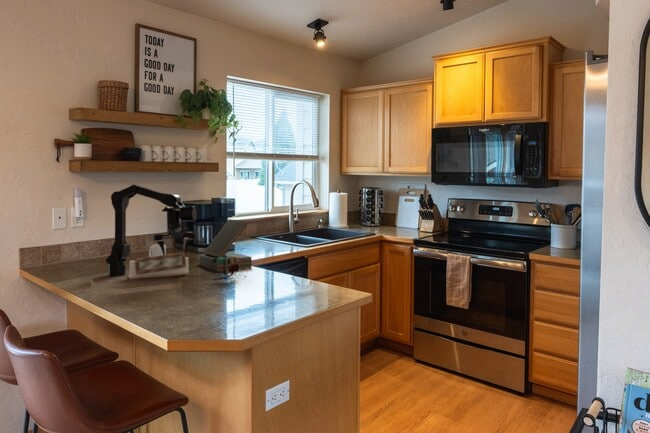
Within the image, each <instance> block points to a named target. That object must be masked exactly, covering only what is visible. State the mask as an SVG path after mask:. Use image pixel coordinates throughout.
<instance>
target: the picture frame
mask: <svg viewBox="0 0 650 433" xmlns="http://www.w3.org/2000/svg"><path fill="white" fill-rule="evenodd" d="M185 257H186V253H184V251H183V252H176V253H169V254H166V255H160V256H153V257H152V256H151V257H149V256H148V257H141V258H134V261H135V266H136V274H137V275H138V274H145V273H152V272H158V271H165V270H171V269H178V268H184V267H186V261H185Z"/></svg>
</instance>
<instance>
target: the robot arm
mask: <svg viewBox="0 0 650 433" xmlns="http://www.w3.org/2000/svg"><path fill="white" fill-rule="evenodd" d="M110 195H111V196H110V200H111V205H112V208H113V210H114V242H113V243H112V247H111V251H110V254H109V256H107V258H105V262H106V264H108V277H109V278H110V277H124V276H126V265H125V263H124V262H126V261H127V258H128V257H129V256H130V253H131V244H130V243H128V242H127V240H126V239H127V237H126V236H127V234H126V232H127V228H126V226H127V223H126V222H127V217H126V216H127V214H126V213H127V208H128V206H129V204H130V199H132V198H133V197H135V196H136V195H139V196H143V197H147V198H150V199H152V200H156V201H158V202H160V203H161V204H163V205H165V207H164V208H163V209H162V210H161V212H162V213H163V212H164V213H165V212H166V234H163V233H158V232H157V233H152V235H151V240H152V241H154V242H156V243H157V244H159V246H160V248H161V250H162V253H163V255H165V250H164V244H165V240H166V239H177V238H178V239H179V238H180V239H183V252H184V253H185V254H186V253H187V250H188V246H189V244H190V242H191V241H193V240H194V239H196V233H195V232H193V231H188V228H187V226H183V227H182V226H181V222H180V221H182V222H196V220H197V218H198V217H197V216H198V215H197V211H196V210H197V209H196V208H195V206H192V205H191V206H185V204H184V203H183V201H182V199H181V197H180V195H179V194H175V193H169V192H168V193H167V192H161V191H159V190H154V189H151V188H148V187H145V186H141V185H140V184H132V185H130V186H128V187H125V188H123V189H121V190H120V191H119V190H117V191H114V192H112V193H111V194H110ZM164 239H165V240H164Z"/></svg>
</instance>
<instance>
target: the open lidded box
mask: <svg viewBox="0 0 650 433" xmlns="http://www.w3.org/2000/svg"><path fill="white" fill-rule="evenodd" d="M248 224H249V223H248V222H246V221H245V220H239V219H238V220H237V219H233V218H231V219H230V218H229V219H227V221H226V222H225V224H224V225H223V226H222V228H221V229H220V230H219V232H218V233H217V234H216V235H215V236H214V238H213V240H212V241H211V242H210V244H209V245H208V246H207V248H206V249H205V250H204V252H203V254H199V255H198V256H199V257H198V258H199V259H198V264H199V266H202V267H204V268H206V269H209V270H211V271H214V272H218V273H224V272H223V267H222V266H227V267H226V268H225V272H229V271H228V268H229V266H232V265H231V264H228V265H223V264H217V262H216V263H214V262H213V259H214V258H216V259H218V258H219V257H223V256H224V255H226V256H227V257H231V256H232V257H235V258H236V257H239V262H238V266H239V269H242V270H247V269H246V268H249V269H252V266H253V263H252V262H253V260H252V258H253V256H248V255H245V254H241V253H237V252H234V251H233V252H228V251H229V250H230V248H231V247H232V246H233V244H234V243H235V241H236V240H237V239H238V237H239V236H240V235H241V233H242V232H243V231H244V230H245V228H246V227H247V225H248ZM234 264H237V263H234Z"/></svg>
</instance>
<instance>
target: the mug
mask: <svg viewBox="0 0 650 433" xmlns="http://www.w3.org/2000/svg"><path fill="white" fill-rule="evenodd" d="M164 250H165V255H167V253H166V252H167V251H166V250H167V245H166V244H165V243H164ZM160 255H163V253H162V250H161V248H160V246H159V244H158V243H155V244H151V246H150V247H149V250H148V257H153V256H160Z"/></svg>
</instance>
